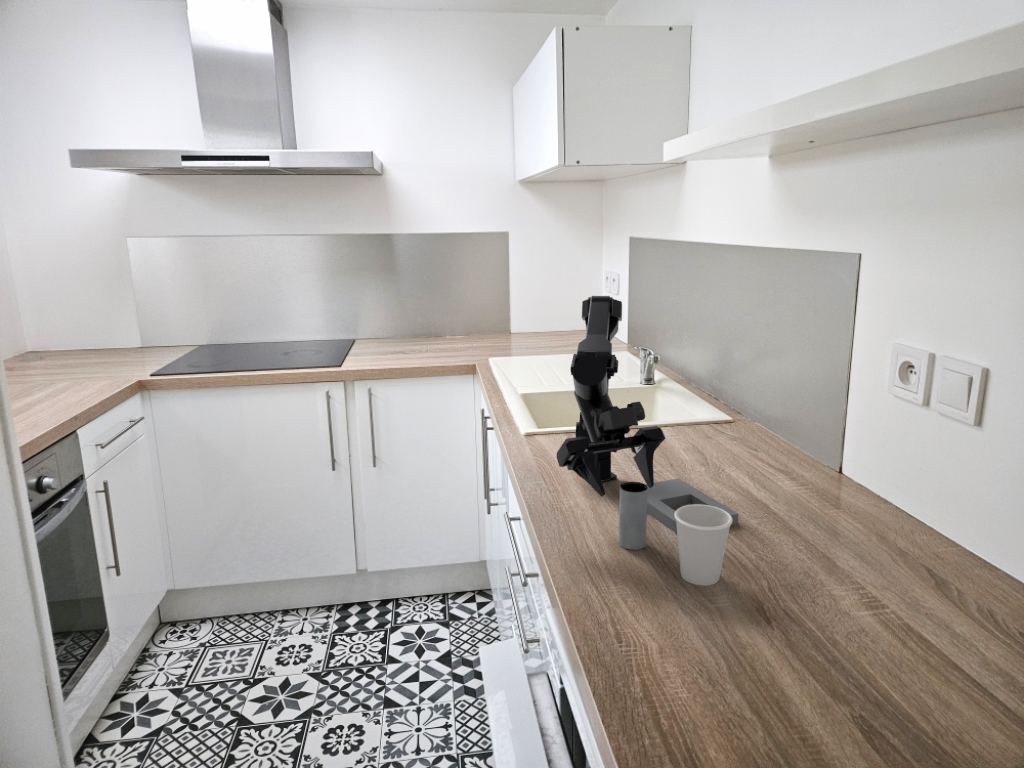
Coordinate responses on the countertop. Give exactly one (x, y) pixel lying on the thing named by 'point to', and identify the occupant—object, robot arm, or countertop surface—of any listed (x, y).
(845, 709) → the countertop surface
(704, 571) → the dixie cup
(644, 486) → the gray tube
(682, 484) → the socket board
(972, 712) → the countertop surface
